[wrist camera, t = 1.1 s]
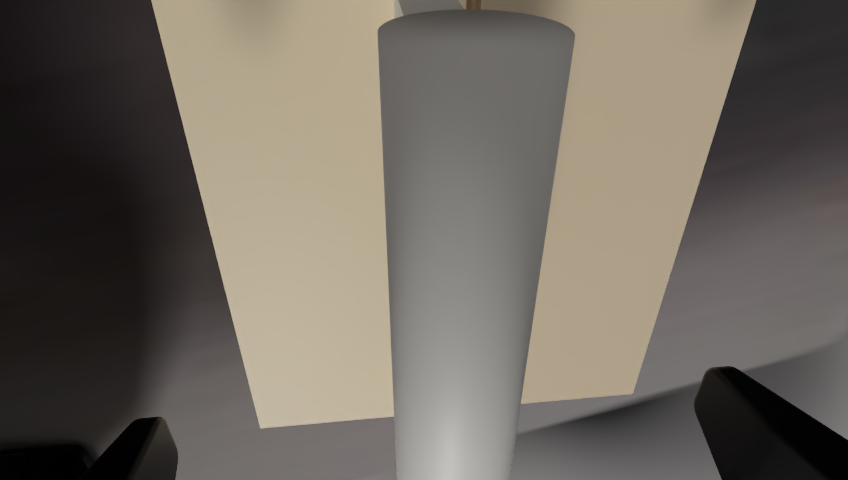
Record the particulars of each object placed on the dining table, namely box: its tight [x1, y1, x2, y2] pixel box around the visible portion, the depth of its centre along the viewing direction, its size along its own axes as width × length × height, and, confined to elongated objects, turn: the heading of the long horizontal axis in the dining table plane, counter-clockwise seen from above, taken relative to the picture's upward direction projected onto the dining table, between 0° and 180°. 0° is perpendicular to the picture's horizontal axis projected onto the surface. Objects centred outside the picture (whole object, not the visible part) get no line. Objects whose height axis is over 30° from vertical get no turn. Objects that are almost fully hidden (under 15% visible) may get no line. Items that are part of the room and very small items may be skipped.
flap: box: [151, 0, 575, 480], centre depth 11 cm, size 14×6×7 cm, turn 0°
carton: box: [466, 0, 756, 404], centre depth 16 cm, size 14×12×5 cm
